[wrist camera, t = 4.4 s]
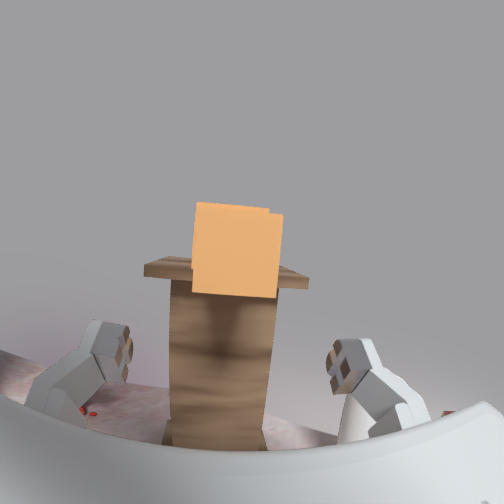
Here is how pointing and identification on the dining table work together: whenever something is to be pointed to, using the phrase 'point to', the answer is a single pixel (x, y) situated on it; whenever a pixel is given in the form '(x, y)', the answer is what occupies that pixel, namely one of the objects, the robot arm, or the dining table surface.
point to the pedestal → (218, 360)
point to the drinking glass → (354, 421)
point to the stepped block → (236, 250)
